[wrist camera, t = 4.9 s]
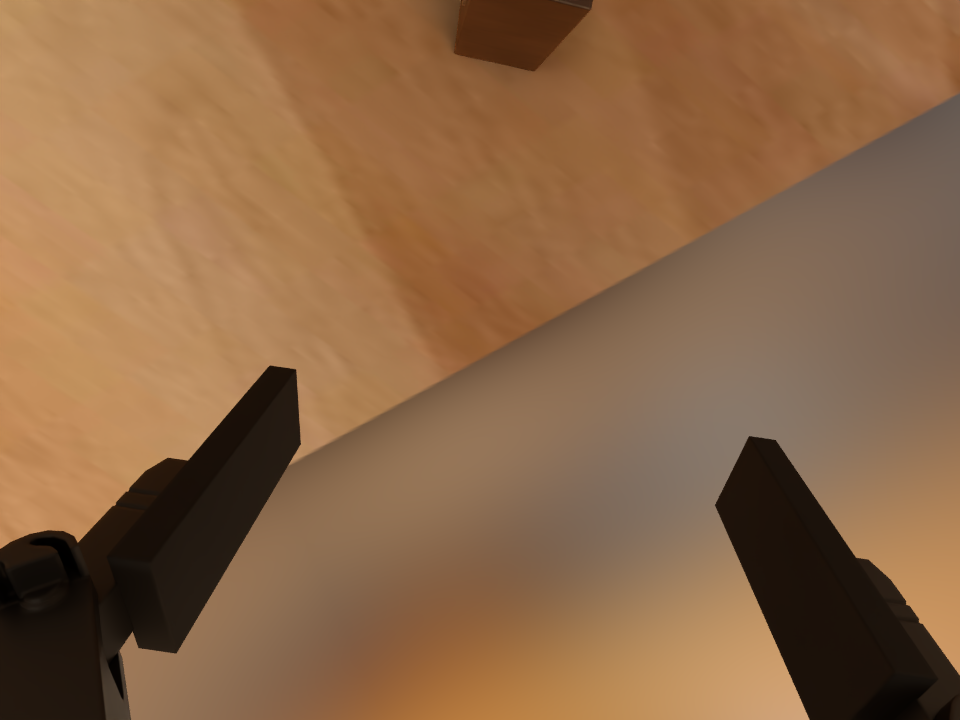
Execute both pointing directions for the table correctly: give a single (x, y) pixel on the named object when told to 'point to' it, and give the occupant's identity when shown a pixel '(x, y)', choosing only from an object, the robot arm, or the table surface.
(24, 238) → the table surface
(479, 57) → the line block
